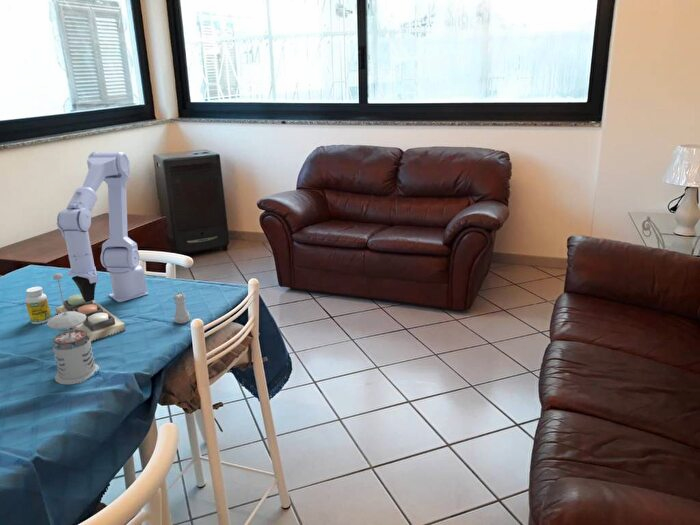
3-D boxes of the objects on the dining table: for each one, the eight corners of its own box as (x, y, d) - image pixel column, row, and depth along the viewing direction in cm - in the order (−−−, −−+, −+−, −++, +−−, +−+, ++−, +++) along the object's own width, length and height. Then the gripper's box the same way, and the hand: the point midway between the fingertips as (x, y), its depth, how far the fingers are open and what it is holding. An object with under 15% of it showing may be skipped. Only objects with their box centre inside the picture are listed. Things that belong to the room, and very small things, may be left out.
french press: (53, 388, 129) (30, 284, 120) (55, 364, 139) (34, 267, 130) (100, 378, 132) (81, 277, 124) (99, 356, 142) (81, 260, 134)
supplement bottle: (50, 314, 166) (43, 284, 163) (53, 321, 162) (46, 289, 159) (29, 319, 164) (22, 288, 160) (31, 326, 159) (24, 294, 156)
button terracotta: (94, 309, 164) (93, 302, 163) (100, 314, 160) (99, 307, 160) (76, 314, 161) (74, 308, 160) (82, 320, 157) (81, 313, 156)
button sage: (83, 298, 169) (82, 292, 168) (90, 303, 166) (88, 297, 165) (66, 303, 166) (64, 297, 165) (72, 308, 162) (70, 302, 162)
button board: (91, 303, 173) (89, 292, 172) (125, 330, 156) (123, 317, 154) (56, 313, 167) (54, 301, 165) (87, 342, 149) (85, 329, 148)
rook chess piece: (194, 318, 162) (191, 292, 159) (183, 325, 158) (180, 298, 155) (181, 316, 164) (178, 290, 161) (170, 322, 160) (167, 296, 157)
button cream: (105, 317, 158) (103, 311, 158) (112, 323, 155) (110, 316, 154) (86, 323, 155) (85, 316, 154) (93, 329, 152) (91, 322, 151)
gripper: (55, 250, 155) (64, 297, 159) (74, 263, 145) (84, 312, 149) (82, 244, 159) (90, 290, 164) (102, 256, 149) (111, 304, 154)
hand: (89, 300), depth 157 cm, fingers closed
